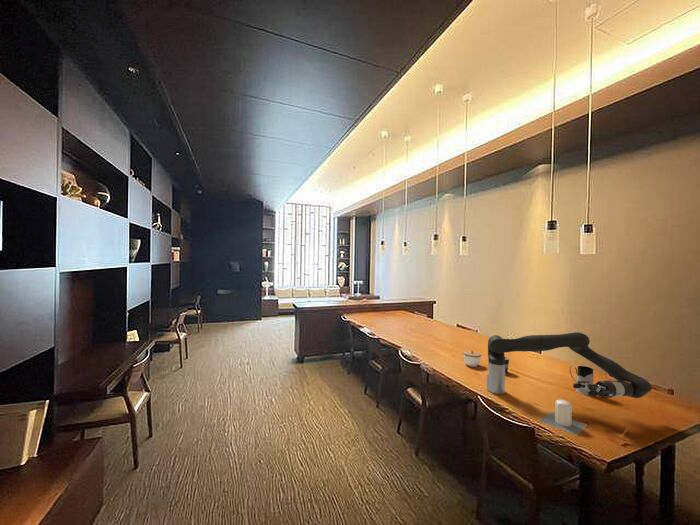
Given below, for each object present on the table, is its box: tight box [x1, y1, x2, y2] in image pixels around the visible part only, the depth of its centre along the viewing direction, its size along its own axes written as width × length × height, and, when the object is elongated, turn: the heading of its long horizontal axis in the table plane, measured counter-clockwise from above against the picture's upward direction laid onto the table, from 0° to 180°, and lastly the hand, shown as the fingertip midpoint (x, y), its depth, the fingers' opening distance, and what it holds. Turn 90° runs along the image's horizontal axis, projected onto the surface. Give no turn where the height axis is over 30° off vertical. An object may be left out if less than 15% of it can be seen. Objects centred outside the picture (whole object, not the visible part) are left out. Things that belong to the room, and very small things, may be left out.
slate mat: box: [538, 411, 588, 436], centre depth 152 cm, size 16×15×1 cm
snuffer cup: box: [554, 399, 573, 426], centre depth 152 cm, size 6×6×10 cm
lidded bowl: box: [463, 350, 482, 368], centre depth 238 cm, size 13×13×11 cm
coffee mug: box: [505, 356, 510, 374], centre depth 224 cm, size 12×9×10 cm
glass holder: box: [569, 365, 594, 396], centre depth 192 cm, size 9×14×15 cm, turn 15°
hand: (581, 389), depth 155 cm, fingers open, 8 cm apart
